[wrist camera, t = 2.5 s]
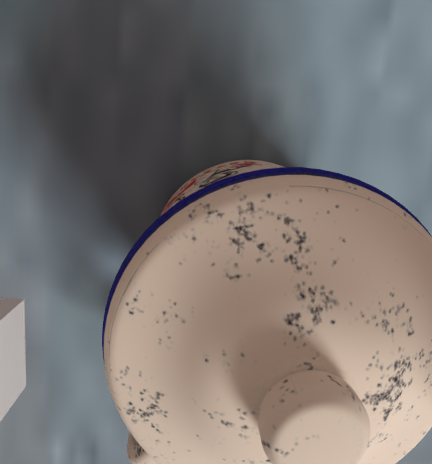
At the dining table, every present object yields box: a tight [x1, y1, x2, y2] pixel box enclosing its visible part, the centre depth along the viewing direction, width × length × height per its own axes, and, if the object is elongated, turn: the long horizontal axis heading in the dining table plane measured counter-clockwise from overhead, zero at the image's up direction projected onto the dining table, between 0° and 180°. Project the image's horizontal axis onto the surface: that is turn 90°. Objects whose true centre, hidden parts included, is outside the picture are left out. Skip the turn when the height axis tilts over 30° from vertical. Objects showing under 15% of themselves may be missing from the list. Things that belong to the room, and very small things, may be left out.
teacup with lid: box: [102, 160, 432, 464], centre depth 12 cm, size 12×9×12 cm
